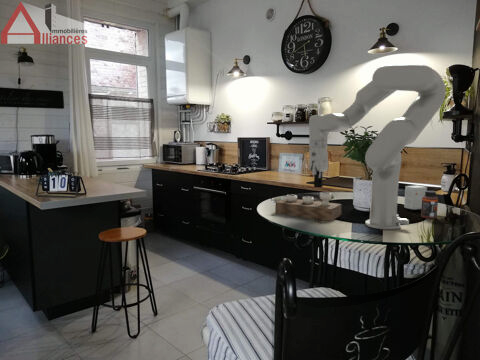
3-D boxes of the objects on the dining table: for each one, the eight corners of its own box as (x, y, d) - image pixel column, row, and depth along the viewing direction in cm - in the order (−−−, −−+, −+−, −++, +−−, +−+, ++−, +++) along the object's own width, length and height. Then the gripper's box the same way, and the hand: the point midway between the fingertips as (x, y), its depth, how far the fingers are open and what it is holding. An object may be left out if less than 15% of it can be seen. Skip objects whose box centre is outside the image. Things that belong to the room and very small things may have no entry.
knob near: (332, 207, 150) (333, 192, 150) (328, 209, 146) (329, 193, 146) (322, 206, 153) (322, 191, 152) (317, 208, 149) (318, 192, 148)
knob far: (298, 209, 160) (298, 194, 159) (293, 211, 156) (294, 196, 155) (289, 207, 163) (289, 193, 162) (284, 209, 159) (284, 195, 158)
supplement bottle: (436, 220, 144) (438, 192, 143) (420, 218, 147) (422, 191, 146) (437, 217, 149) (438, 190, 148) (421, 215, 152) (423, 189, 151)
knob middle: (315, 211, 155) (315, 196, 154) (310, 213, 151) (311, 198, 150) (305, 209, 158) (305, 195, 157) (300, 211, 154) (300, 196, 153)
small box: (416, 206, 171) (418, 185, 170) (426, 208, 166) (427, 186, 165) (403, 207, 169) (404, 185, 167) (412, 209, 163) (414, 187, 162)
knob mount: (341, 215, 152) (341, 204, 152) (331, 221, 143) (331, 209, 142) (287, 208, 167) (287, 198, 166) (275, 212, 157) (275, 202, 157)
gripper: (319, 144, 140) (320, 190, 142) (333, 144, 152) (332, 185, 154) (302, 145, 145) (303, 189, 147) (316, 144, 157) (316, 184, 159)
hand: (318, 187), depth 151 cm, fingers closed
